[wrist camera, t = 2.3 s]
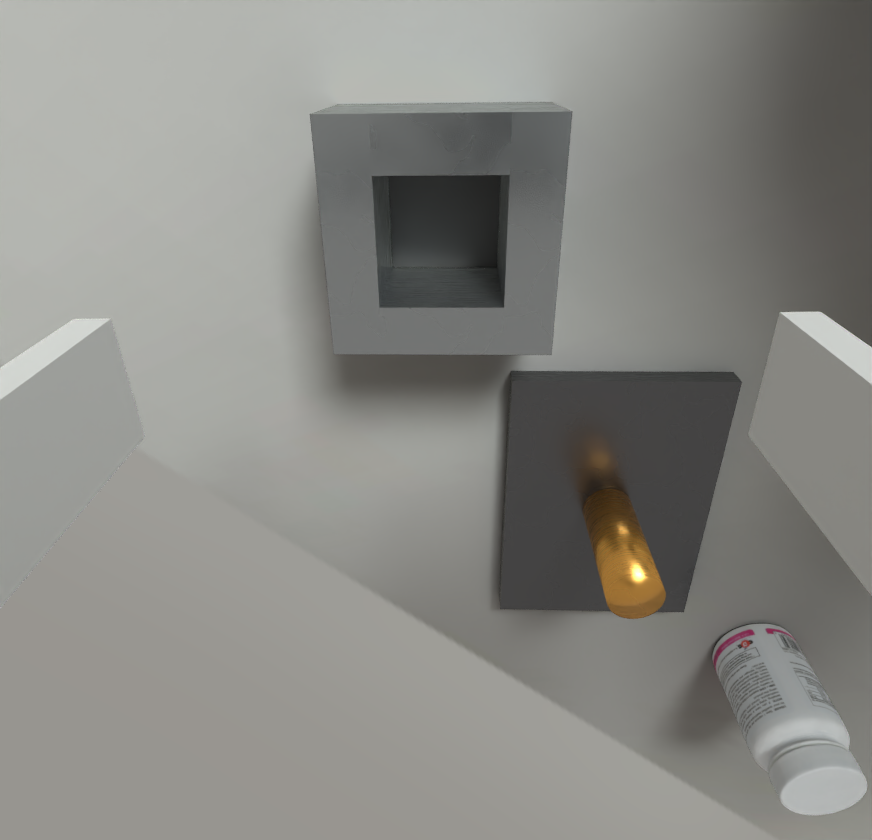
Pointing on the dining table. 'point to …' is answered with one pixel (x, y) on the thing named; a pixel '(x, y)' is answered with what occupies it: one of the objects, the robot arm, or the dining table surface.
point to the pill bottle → (788, 720)
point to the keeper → (610, 487)
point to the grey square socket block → (441, 287)
